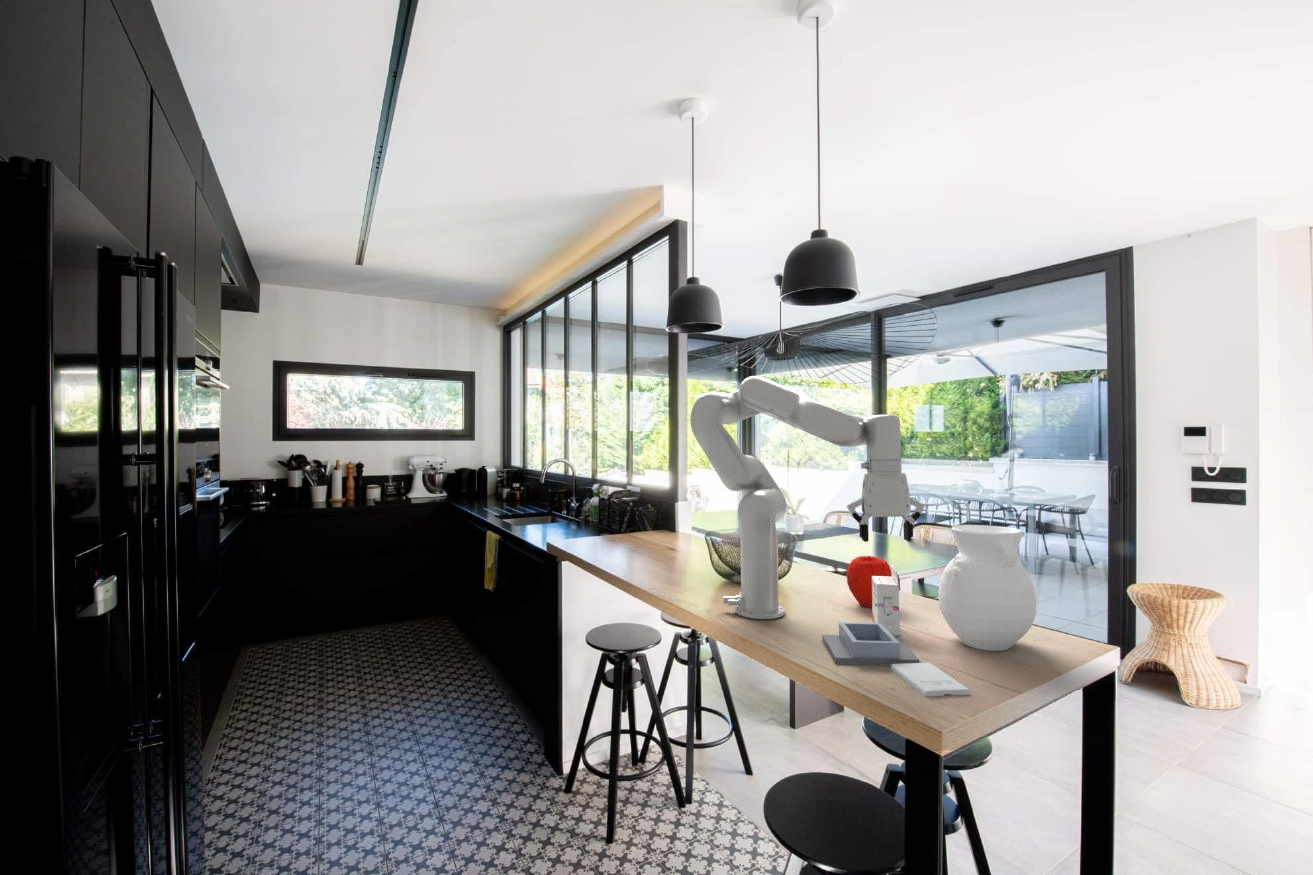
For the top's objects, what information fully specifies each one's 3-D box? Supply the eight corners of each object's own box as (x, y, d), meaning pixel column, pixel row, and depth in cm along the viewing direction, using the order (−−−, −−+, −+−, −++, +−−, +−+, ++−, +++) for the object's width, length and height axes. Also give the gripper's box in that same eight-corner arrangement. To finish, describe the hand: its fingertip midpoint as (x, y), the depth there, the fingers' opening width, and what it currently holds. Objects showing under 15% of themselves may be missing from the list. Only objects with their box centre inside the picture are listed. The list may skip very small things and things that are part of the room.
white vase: (1058, 657, 120) (1057, 533, 120) (971, 660, 118) (969, 535, 119) (999, 628, 138) (997, 521, 138) (923, 630, 137) (921, 523, 137)
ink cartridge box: (871, 623, 143) (870, 562, 143) (893, 625, 142) (892, 563, 142) (877, 635, 134) (876, 570, 134) (900, 636, 133) (899, 571, 133)
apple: (900, 611, 153) (900, 559, 153) (855, 611, 153) (854, 560, 153) (883, 599, 164) (882, 551, 165) (841, 599, 165) (840, 551, 165)
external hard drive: (931, 670, 115) (970, 697, 102) (890, 672, 114) (925, 699, 102) (931, 662, 115) (970, 688, 102) (890, 663, 114) (925, 689, 102)
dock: (835, 663, 117) (835, 642, 117) (822, 640, 131) (822, 621, 131) (919, 665, 115) (919, 644, 116) (896, 641, 129) (896, 622, 129)
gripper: (850, 468, 135) (852, 543, 135) (928, 467, 134) (930, 543, 133) (842, 467, 143) (844, 538, 142) (916, 466, 141) (918, 538, 141)
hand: (886, 540), depth 138 cm, fingers open, 9 cm apart
